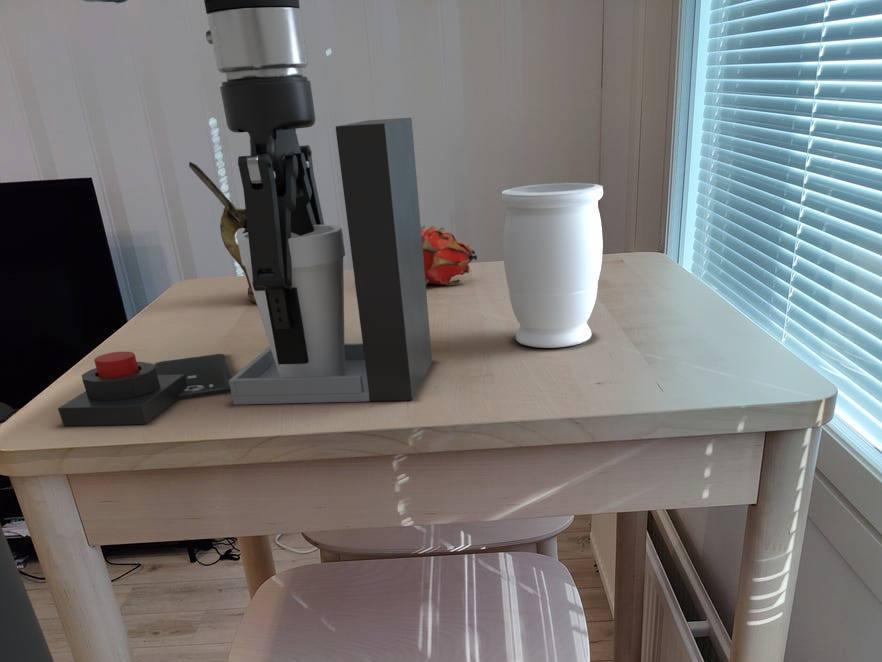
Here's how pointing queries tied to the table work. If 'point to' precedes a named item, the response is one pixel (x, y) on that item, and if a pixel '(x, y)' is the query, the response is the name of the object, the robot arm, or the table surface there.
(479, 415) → the table surface
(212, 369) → the smartphone
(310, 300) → the foam cup
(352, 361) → the coffee maker
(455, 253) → the dragon fruit
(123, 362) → the button
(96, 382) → the panel
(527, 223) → the jar
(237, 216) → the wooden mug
